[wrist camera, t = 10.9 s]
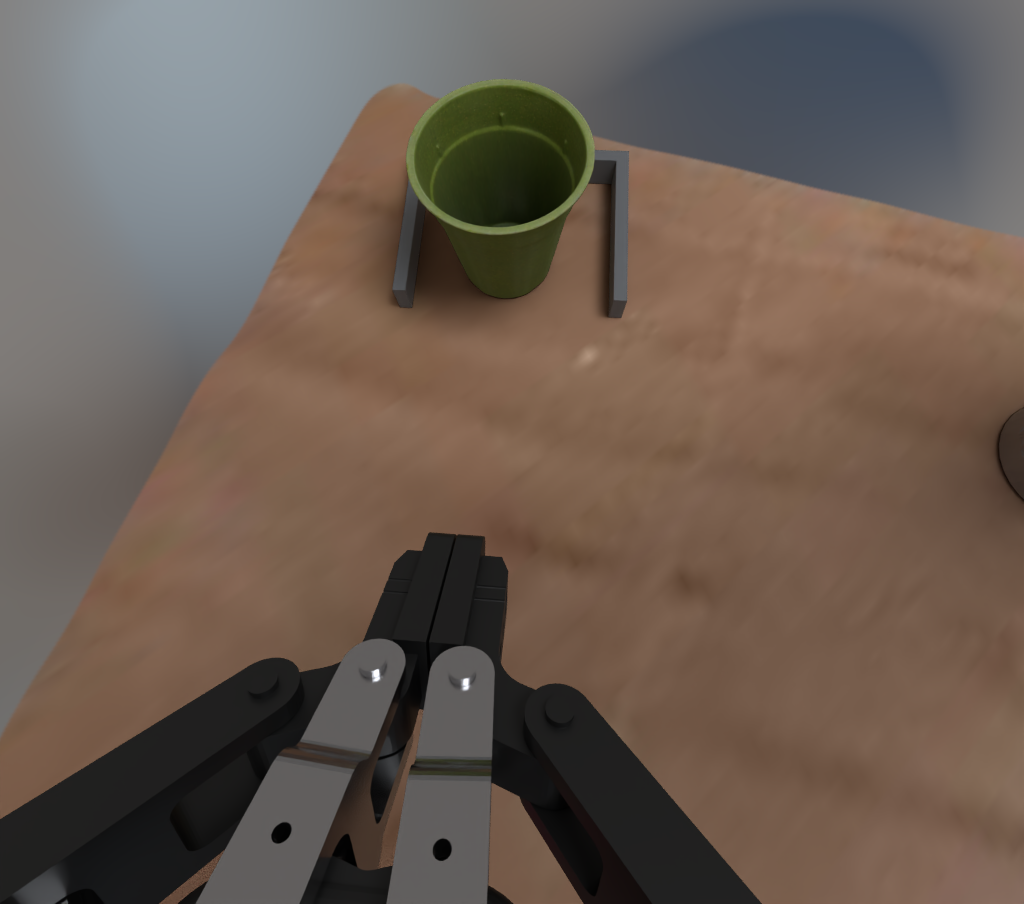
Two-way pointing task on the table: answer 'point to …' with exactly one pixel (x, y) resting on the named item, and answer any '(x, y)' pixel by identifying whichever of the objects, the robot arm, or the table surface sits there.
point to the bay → (606, 171)
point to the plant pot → (501, 177)
